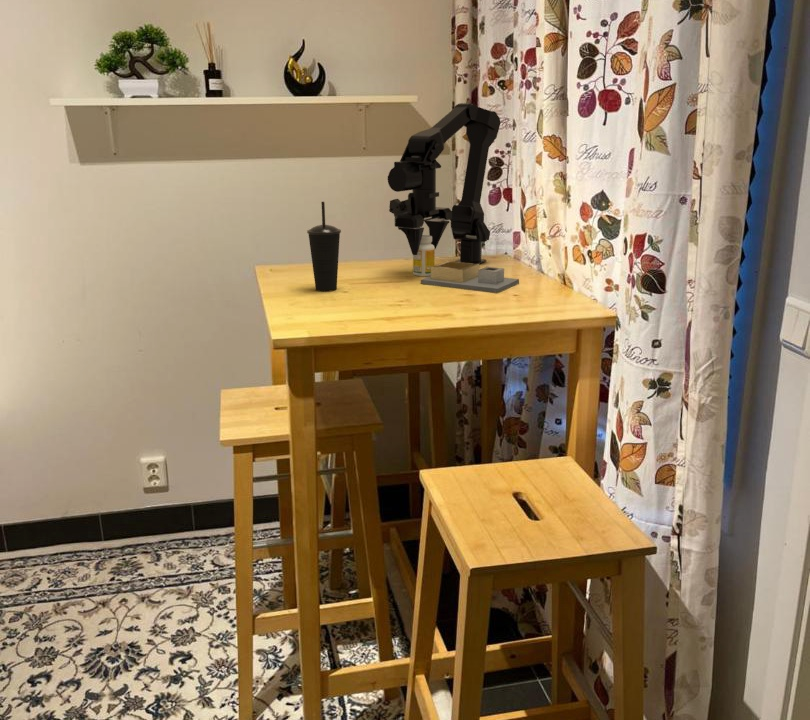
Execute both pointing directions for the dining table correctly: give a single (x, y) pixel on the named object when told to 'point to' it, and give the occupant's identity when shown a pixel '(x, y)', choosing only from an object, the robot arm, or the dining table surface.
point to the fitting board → (473, 284)
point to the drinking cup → (324, 254)
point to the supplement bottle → (424, 257)
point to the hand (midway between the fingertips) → (424, 252)
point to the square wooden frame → (454, 271)
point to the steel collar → (491, 275)
